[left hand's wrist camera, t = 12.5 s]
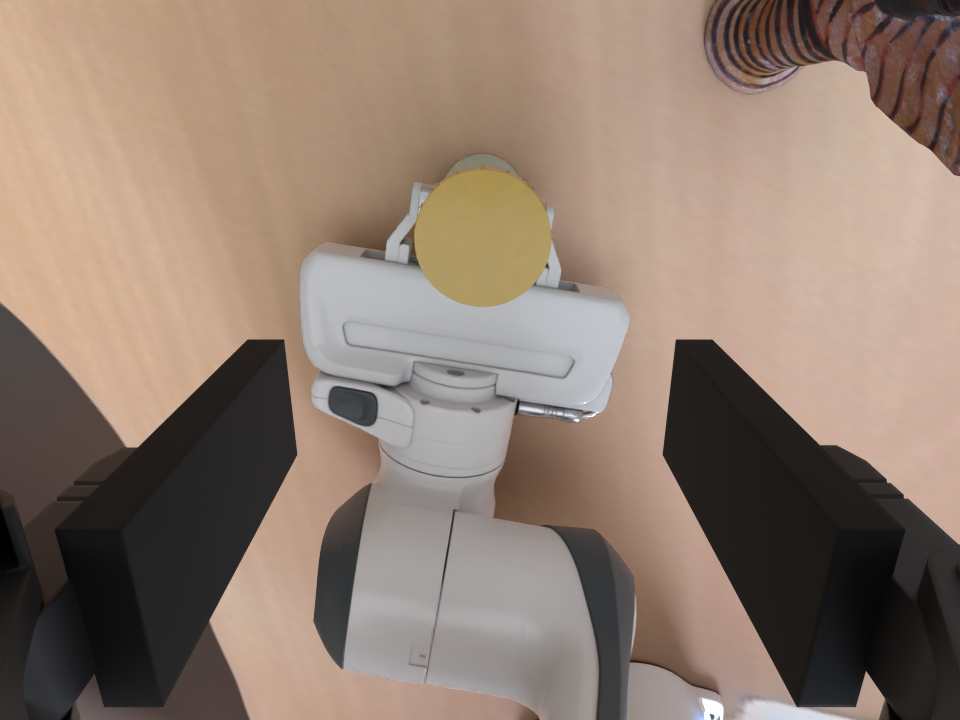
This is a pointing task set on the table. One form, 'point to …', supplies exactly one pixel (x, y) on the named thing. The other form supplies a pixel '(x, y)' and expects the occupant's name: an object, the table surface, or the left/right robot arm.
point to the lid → (482, 236)
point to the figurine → (852, 55)
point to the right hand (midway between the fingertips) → (483, 194)
